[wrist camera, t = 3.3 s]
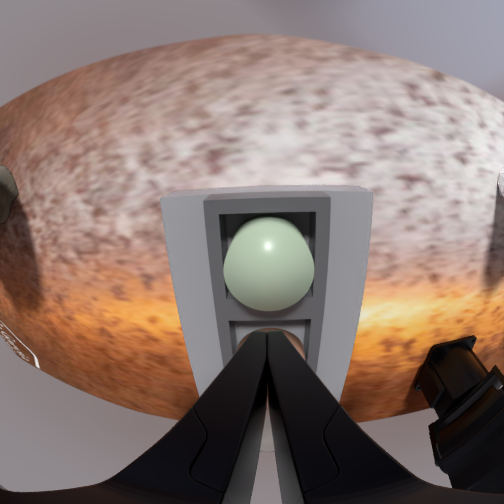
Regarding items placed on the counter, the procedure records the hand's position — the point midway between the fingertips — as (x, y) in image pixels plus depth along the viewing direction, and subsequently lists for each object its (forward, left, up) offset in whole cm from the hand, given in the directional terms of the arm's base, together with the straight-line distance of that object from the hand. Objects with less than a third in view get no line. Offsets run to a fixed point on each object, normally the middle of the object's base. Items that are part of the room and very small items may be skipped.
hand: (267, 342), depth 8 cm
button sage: (0, 0, -7) cm, 7 cm away
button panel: (0, +6, -11) cm, 12 cm away
